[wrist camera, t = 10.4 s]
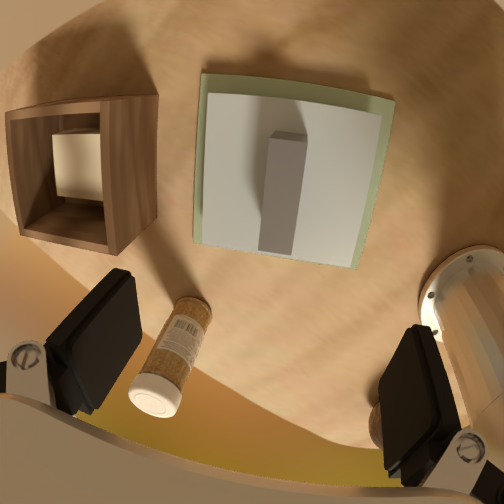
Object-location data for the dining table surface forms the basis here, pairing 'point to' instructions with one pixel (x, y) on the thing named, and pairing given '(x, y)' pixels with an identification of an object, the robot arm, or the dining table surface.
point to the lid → (286, 176)
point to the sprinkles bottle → (171, 359)
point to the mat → (303, 93)
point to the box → (84, 170)
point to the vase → (376, 426)
